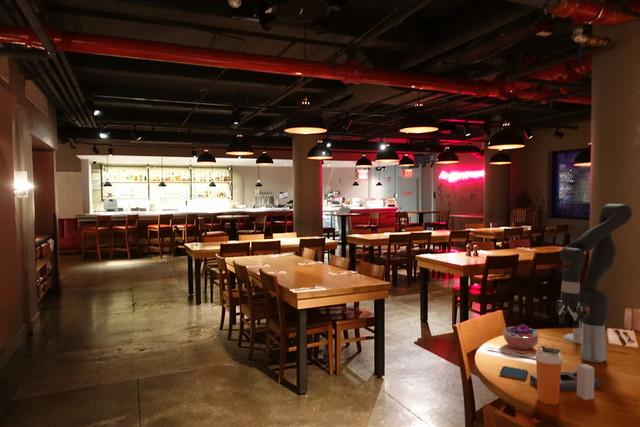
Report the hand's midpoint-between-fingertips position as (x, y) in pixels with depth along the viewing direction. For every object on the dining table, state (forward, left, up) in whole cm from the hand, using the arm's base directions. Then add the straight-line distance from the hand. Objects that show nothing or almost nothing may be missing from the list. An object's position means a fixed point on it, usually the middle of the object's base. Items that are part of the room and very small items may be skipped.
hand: (568, 325), depth 200 cm
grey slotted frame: (+19, +20, -17) cm, 33 cm away
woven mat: (+33, +7, -18) cm, 38 cm away
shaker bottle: (+35, +31, -18) cm, 50 cm away
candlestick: (-28, -28, -18) cm, 43 cm away
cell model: (+9, -23, -18) cm, 30 cm away
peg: (+19, +31, -18) cm, 40 cm away
